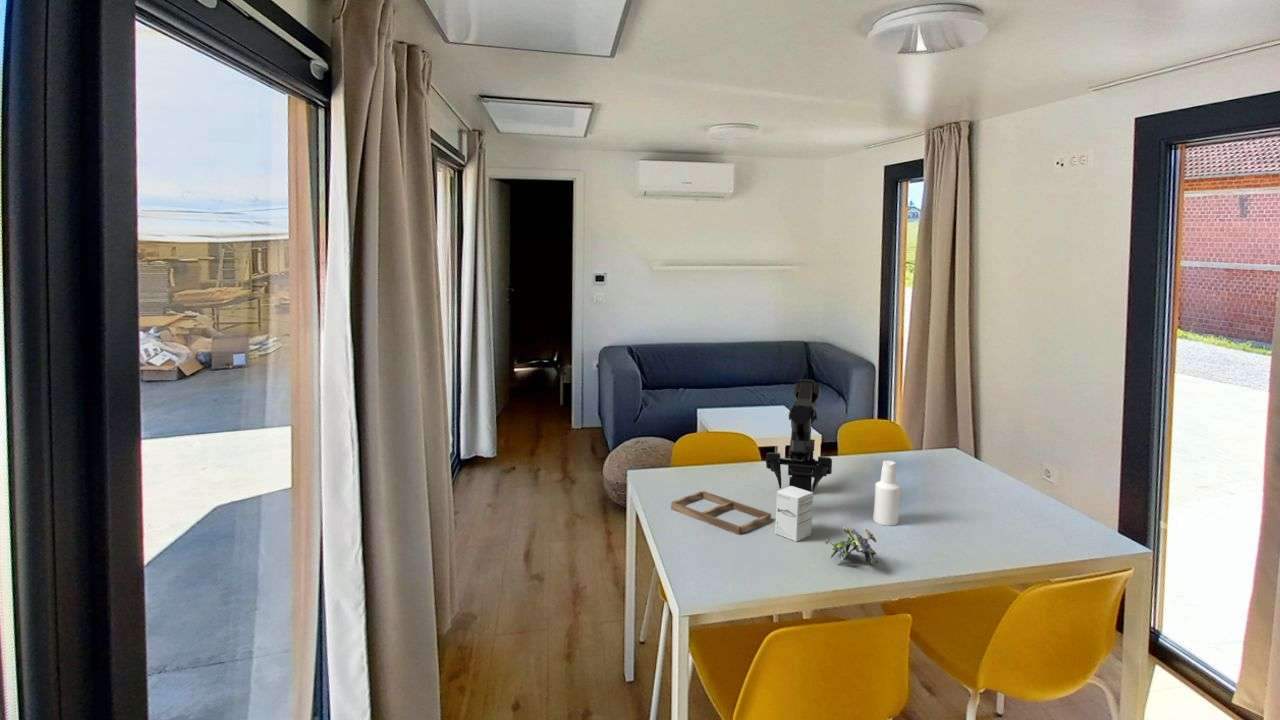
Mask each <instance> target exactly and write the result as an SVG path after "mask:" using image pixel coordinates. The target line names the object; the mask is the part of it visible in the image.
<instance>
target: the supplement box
mask: <svg viewBox="0 0 1280 720" xmlns="http://www.w3.org/2000/svg"><path fill="white" fill-rule="evenodd" d="M813 503H814V492H812V491H811V492H810V491H807V490H803V489H800V488H797V487H794V486H787V487H784V488H781V489H779V490H777V491H776V506H775V508H776V509H775V523H774V524H775V526H774V527H775V528H774V534H775V535H778V536H781V537H784V538H786V539H789V540H791V541H794V542H799V541H801V540H803V539H805V537H806V538H807V536H808V537H809V536H811V535H812V523H813V521H812V520H813Z"/></svg>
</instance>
